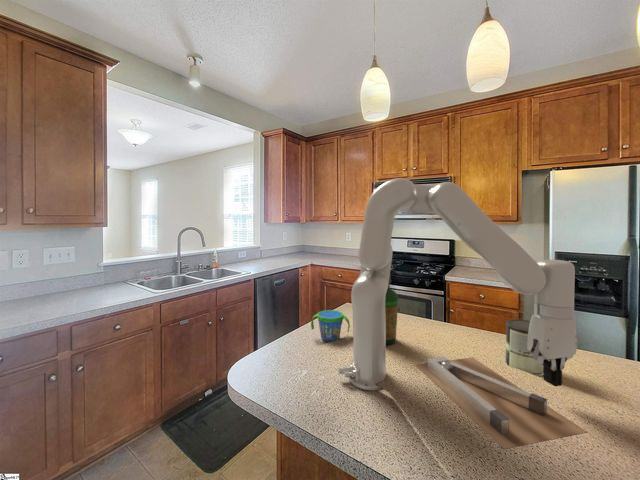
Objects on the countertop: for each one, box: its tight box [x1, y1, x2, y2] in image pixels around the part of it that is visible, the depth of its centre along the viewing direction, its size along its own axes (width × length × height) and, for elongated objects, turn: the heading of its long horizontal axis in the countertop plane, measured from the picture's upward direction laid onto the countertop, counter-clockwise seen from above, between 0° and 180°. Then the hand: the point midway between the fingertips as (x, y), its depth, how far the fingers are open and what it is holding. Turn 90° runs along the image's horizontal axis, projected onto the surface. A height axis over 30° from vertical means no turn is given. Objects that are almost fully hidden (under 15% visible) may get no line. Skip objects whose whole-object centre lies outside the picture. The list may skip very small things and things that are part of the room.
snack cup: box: [310, 309, 351, 342], centre depth 114 cm, size 16×10×10 cm
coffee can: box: [504, 318, 544, 377], centre depth 89 cm, size 10×10×14 cm
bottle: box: [385, 275, 399, 347], centre depth 107 cm, size 11×11×28 cm
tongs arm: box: [441, 361, 548, 416], centre depth 75 cm, size 25×4×3 cm, turn 36°
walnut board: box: [415, 357, 588, 450], centre depth 75 cm, size 21×34×2 cm, turn 11°
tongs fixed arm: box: [427, 356, 509, 434], centre depth 74 cm, size 28×6×3 cm, turn 11°
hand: (552, 382), depth 70 cm, fingers closed
